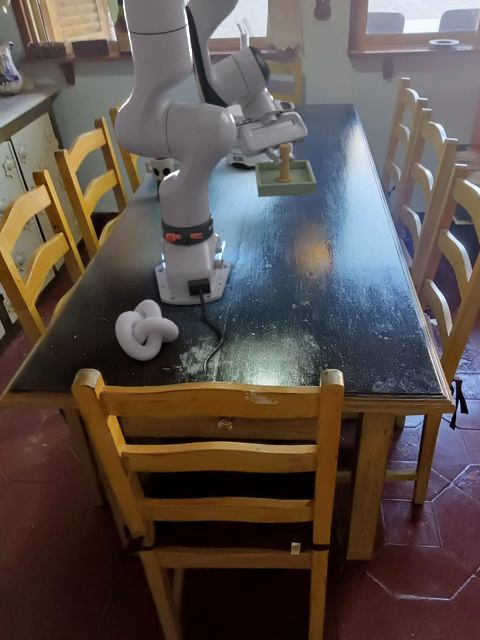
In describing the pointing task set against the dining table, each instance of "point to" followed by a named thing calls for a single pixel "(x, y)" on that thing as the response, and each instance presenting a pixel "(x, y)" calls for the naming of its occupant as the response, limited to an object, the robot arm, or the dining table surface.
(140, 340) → the white trefoil knot
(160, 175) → the character mug
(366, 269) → the dining table surface
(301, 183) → the tray
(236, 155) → the milk container
